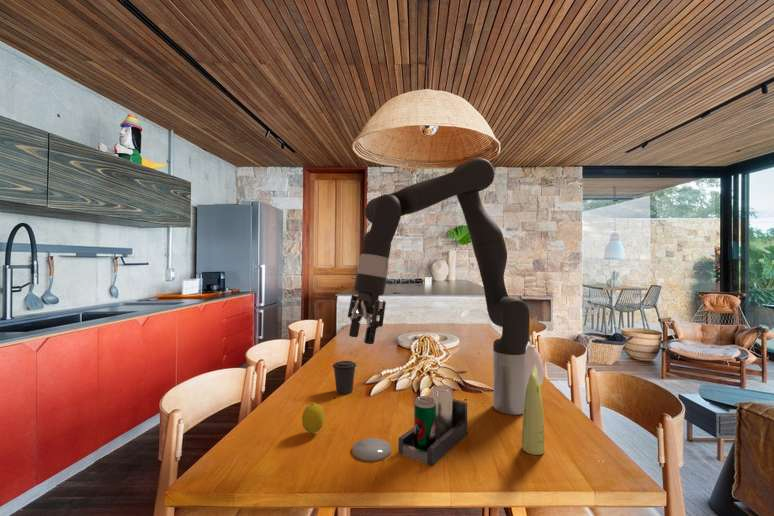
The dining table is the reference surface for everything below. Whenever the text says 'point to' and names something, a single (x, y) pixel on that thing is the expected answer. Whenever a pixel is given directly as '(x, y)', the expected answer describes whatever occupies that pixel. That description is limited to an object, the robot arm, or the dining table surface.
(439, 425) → the grey metal cylinder
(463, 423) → the can rack
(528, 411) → the tube
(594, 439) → the dining table surface
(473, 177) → the robot arm
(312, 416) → the lemon
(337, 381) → the coffee cup
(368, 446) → the grey disc
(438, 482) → the dining table surface
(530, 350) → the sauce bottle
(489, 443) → the dining table surface
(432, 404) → the soda can
